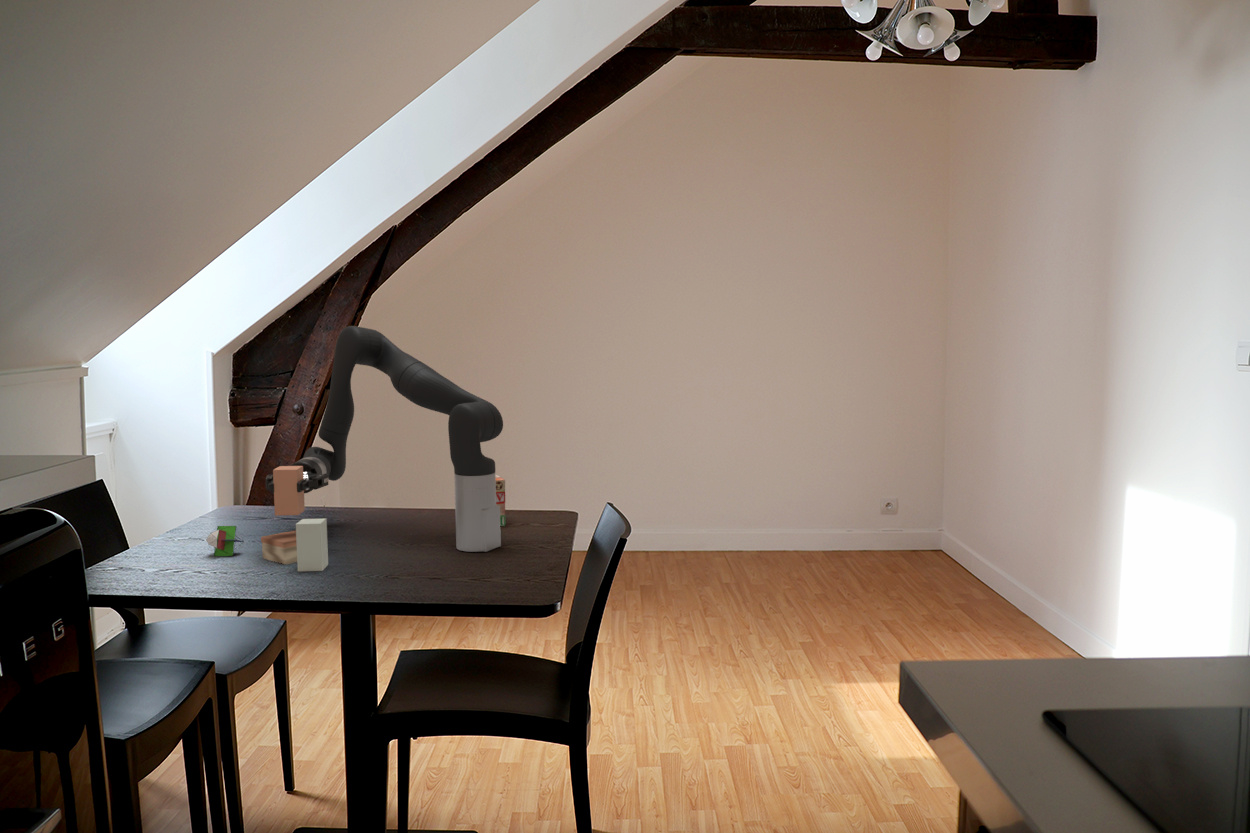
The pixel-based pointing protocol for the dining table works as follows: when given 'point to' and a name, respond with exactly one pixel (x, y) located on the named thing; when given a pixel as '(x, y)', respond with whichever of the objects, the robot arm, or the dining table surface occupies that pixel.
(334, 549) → the dining table surface
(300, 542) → the sage block
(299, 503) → the terracotta block
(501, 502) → the stack of blocks
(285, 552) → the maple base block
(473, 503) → the robot arm
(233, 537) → the geometric puzzle
